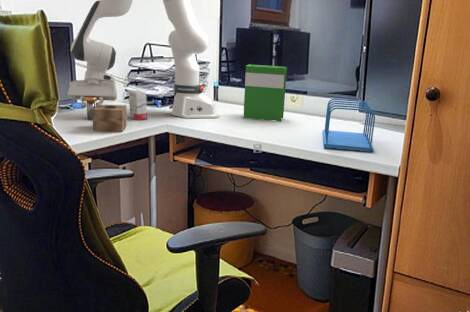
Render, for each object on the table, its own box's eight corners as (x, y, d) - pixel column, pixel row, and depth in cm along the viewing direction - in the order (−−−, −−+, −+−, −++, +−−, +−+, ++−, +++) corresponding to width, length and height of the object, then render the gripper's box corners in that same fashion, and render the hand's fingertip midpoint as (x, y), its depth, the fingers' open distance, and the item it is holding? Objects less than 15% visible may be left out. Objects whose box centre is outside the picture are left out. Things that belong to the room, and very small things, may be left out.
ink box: (147, 119, 206) (147, 92, 203) (136, 120, 203) (136, 93, 200) (139, 116, 213) (139, 89, 210) (128, 116, 210) (128, 90, 207)
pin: (99, 118, 204) (98, 96, 202) (96, 120, 199) (95, 98, 197) (86, 117, 204) (85, 96, 201) (83, 120, 199) (82, 98, 196)
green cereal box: (283, 118, 223) (286, 67, 217) (280, 121, 216) (284, 68, 210) (246, 115, 227) (249, 64, 220) (243, 117, 220) (246, 65, 213)
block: (126, 125, 192) (126, 105, 190) (122, 132, 181) (122, 110, 179) (99, 125, 191) (98, 104, 189) (93, 131, 181) (92, 109, 178)
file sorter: (372, 153, 168) (378, 110, 164) (323, 149, 171) (327, 107, 167) (365, 137, 192) (370, 100, 188) (322, 134, 194) (325, 97, 190)
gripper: (68, 75, 203) (63, 101, 196) (117, 77, 204) (113, 103, 198) (71, 84, 208) (67, 110, 201) (119, 86, 210) (115, 111, 203)
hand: (90, 106), depth 200 cm, fingers open, 4 cm apart
